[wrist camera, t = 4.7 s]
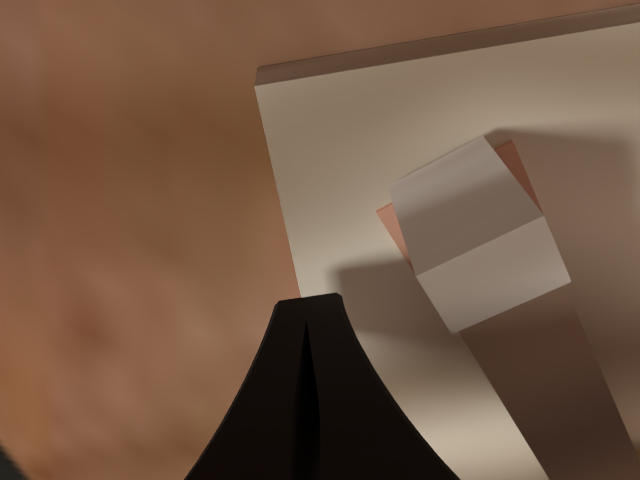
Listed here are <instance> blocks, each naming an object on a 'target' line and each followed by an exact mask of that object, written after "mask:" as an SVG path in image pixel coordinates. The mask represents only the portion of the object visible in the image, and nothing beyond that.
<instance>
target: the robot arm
mask: <svg viewBox="0 0 640 480" xmlns="http://www.w3.org/2000/svg"><path fill="white" fill-rule="evenodd" d="M184 480H461V479H460V478H459V477H458V476H457V475H456V474H455V473H454V472H453V471H452V470H451V469H450V468H449V467H448V465H447V464H446V463H445V462H444V461H443V460H442V459H441V458H440V457H439V456H438V454H437V453H436V452H435V451H434V450H433V448H432V447H431V446H430V445H429V444H428V442H427V441H426V440H425V439H424V438H423V436H422V435H421V434H420V433H419V431H418V430H417V429H416V428H415V426H414V425H413V424H412V422H411V421H410V420H409V419H408V417H407V416H406V415H405V413H404V412H403V411H402V409H401V408H400V406H399V405H398V404H397V402H396V401H395V399H394V398H393V396H392V395H391V393H390V392H389V390H388V389H387V387H386V386H385V384H384V383H383V381H382V380H381V378H380V377H379V375H378V374H377V372H376V370H375V369H374V367H373V365H372V364H371V362H370V360H369V358H368V356H367V355H366V353H365V351H364V349H363V348H362V346H361V344H360V342H359V340H358V338H357V336H356V334H355V332H354V330H353V327H352V325H351V323H350V321H349V318H348V315H347V313H346V310H345V306H344V303H343V297H342V296H341V295H340V294H338V293H337V292H336V293H329V294H322V295H315V296H309V297H302V298H295V299H288V300H282V301H278V303H277V304H276V305H275V306H274V309H273V313H272V316H271V319H270V322H269V324H268V327H267V330H266V332H265V335H264V337H263V340H262V342H261V345H260V347H259V349H258V352H257V354H256V356H255V358H254V360H253V362H252V365H251V367H250V369H249V371H248V373H247V375H246V378H245V380H244V382H243V384H242V386H241V387H240V389H239V391H238V393H237V395H236V397H235V399H234V400H233V402H232V404H231V406H230V408H229V410H228V412H227V413H226V415H225V417H224V419H223V421H222V422H221V424H220V426H219V427H218V429H217V431H216V432H215V434H214V436H213V437H212V439H211V440H210V442H209V444H208V445H207V447H206V448H205V450H204V451H203V453H202V454H201V456H200V457H199V459H198V460H197V462H196V463H195V465H194V466H193V468H192V469H191V470H190V472H189V473H188V475H187V476H186V477H185V479H184Z"/></svg>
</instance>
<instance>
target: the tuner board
mask: <svg viewBox="0 0 640 480" xmlns="http://www.w3.org/2000/svg"><path fill="white" fill-rule="evenodd" d="M254 87H255V91H256V96H257V100H258V105H259V109H260V114H261V118H262V123H263V127H264V132H265V136H266V141H267V145H268V150H269V154H270V159H271V163H272V168H273V172H274V177H275V181H276V186H277V190H278V195H279V199H280V204H281V208H282V213H283V217H284V222H285V226H286V231H287V235H288V240H289V244H290V249H291V253H292V258H293V262H294V267H295V271H296V276H297V280H298V285H299V289H300V294H301V298H302V297H309V296H315V295H322V294H329V293H336V292H337V293H338V294H340V295H341V296H342V297H343V303H344V306H345V310H346V313H347V315H348V318H349V321H350V323H351V325H352V327H353V330H354V332H355V334H356V336H357V338H358V340H359V342H360V344H361V346H362V348H363V349H364V351H365V353H366V355H367V356H368V358H369V360H370V362H371V364H372V365H373V367H374V369H375V370H376V372H377V374H378V375H379V377H380V378H381V380H382V381H383V383H384V384H385V386H386V387H387V389H388V390H389V392H390V393H391V395H392V396H393V398H394V399H395V401H396V402H397V404H398V405H399V406H400V408H401V409H402V411H403V412H404V413H405V415H406V416H407V417H408V419H409V420H410V421H411V422H412V424H413V425H414V426H415V428H416V429H417V430H418V431H419V433H420V434H421V435H422V436H423V438H424V439H425V440H426V441H427V442H428V444H429V445H430V446H431V447H432V448H433V450H434V451H435V452H436V453H437V454H438V456H439V457H440V458H441V459H442V460H443V461H444V462H445V463H446V464H447V465H448V467H449V468H450V469H451V470H452V471H453V472H454V473H455V474H456V475H457V476H458V477H459V478H460V479H461V480H549V478H548V476H547V475H546V473H545V471H544V470H543V468H542V467H541V465H540V463H539V462H538V460H537V458H536V457H535V455H534V454H533V452H532V450H531V449H530V447H529V445H528V444H527V442H526V441H525V439H524V437H523V436H522V434H521V432H520V431H519V429H518V428H517V426H516V424H515V423H514V421H513V419H512V418H511V416H510V415H509V413H508V411H507V410H506V408H505V406H504V405H503V403H502V402H501V400H500V398H499V397H498V395H497V393H496V392H495V390H494V389H493V387H492V385H491V384H490V382H489V380H488V379H487V377H486V376H485V374H484V372H483V371H482V369H481V367H480V366H479V364H478V363H477V361H476V359H475V358H474V356H473V354H472V353H471V351H470V350H469V348H468V346H467V345H466V343H465V341H464V340H463V338H462V337H461V335H460V333H459V332H456V333H454V334H451V332H450V330H449V329H448V327H447V326H446V324H445V322H444V321H443V319H442V318H441V316H440V314H439V313H438V311H437V310H436V308H435V307H434V305H433V303H432V302H431V300H430V299H429V297H428V295H427V294H426V292H425V291H424V289H423V287H422V286H421V284H420V283H419V281H418V279H417V278H416V276H415V274H414V272H413V271H412V269H411V267H410V266H409V264H408V263H407V261H406V259H405V258H404V256H403V255H402V253H401V251H400V250H399V248H398V247H397V245H396V244H395V242H394V240H393V239H392V237H391V236H390V234H389V232H388V231H387V229H386V228H385V226H384V224H383V223H382V221H381V220H380V218H379V216H378V215H377V213H376V210H377V209H379V208H381V207H383V206H385V205H387V204H389V203H391V202H392V200H391V197H390V194H389V191H388V188H387V186H388V185H390V184H392V183H394V182H396V181H398V180H400V179H402V178H404V177H405V176H407V175H409V174H411V173H413V172H415V171H417V170H419V169H421V168H422V167H424V166H426V165H428V164H430V163H432V162H434V161H436V160H438V159H440V158H441V157H443V156H445V155H447V154H449V153H451V152H453V151H455V150H457V149H458V148H460V147H462V146H464V145H466V144H468V143H470V142H472V141H474V140H475V139H477V138H479V137H481V136H484V138H485V139H486V140H487V142H488V143H489V144H490V146H491V147H492V148H493V149H495V148H497V147H499V146H500V145H502V144H504V143H506V142H508V141H510V140H512V141H513V142H514V144H515V147H516V149H517V152H518V154H519V156H520V159H521V161H522V164H523V166H524V168H525V171H526V173H527V176H528V178H529V180H530V183H531V185H532V188H533V190H534V192H535V195H536V197H537V200H538V202H539V204H540V207H541V209H542V212H543V214H544V216H545V219H546V221H547V224H548V226H549V229H550V231H551V233H552V236H553V238H554V241H555V243H556V245H557V248H558V250H559V253H560V255H561V257H562V260H563V262H564V265H565V267H566V269H567V272H568V274H569V277H570V279H571V281H572V282H570V283H568V284H566V285H565V287H566V290H567V292H568V294H569V297H570V299H571V301H572V304H573V306H574V308H575V311H576V313H577V315H578V318H579V320H580V322H581V325H582V327H583V329H584V332H585V334H586V336H587V339H588V341H589V343H590V346H591V348H592V350H593V353H594V355H595V357H596V360H597V362H598V364H599V367H600V369H601V371H602V374H603V376H604V378H605V381H606V383H607V385H608V388H609V390H610V392H611V395H612V397H613V399H614V402H615V404H616V406H617V409H618V411H619V413H620V416H621V418H622V420H623V423H624V425H625V427H626V430H627V432H628V434H629V437H630V439H631V441H632V444H633V446H634V448H635V450H640V3H639V4H633V5H627V6H621V7H615V8H609V9H603V10H598V11H592V12H586V13H580V14H574V15H568V16H562V17H556V18H550V19H544V20H538V21H532V22H526V23H520V24H514V25H508V26H502V27H496V28H490V29H484V30H478V31H472V32H466V33H460V34H454V35H448V36H442V37H436V38H430V39H424V40H418V41H412V42H406V43H400V44H394V45H388V46H382V47H377V48H371V49H365V50H359V51H353V52H347V53H341V54H335V55H329V56H323V57H317V58H311V59H305V60H299V61H293V62H287V63H281V64H275V65H269V66H263V67H258V69H257V75H256V80H255V86H254Z"/></svg>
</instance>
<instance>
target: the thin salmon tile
mask: <svg viewBox="0 0 640 480" xmlns="http://www.w3.org/2000/svg"><path fill="white" fill-rule="evenodd" d="M494 151H495V152H496V153H497V155H498V156H499V157H500V159H501V160H502V161H503V163H504V164H505V165H506V166H507V168H508V169H509V170H510V172H511V173H512V174H513V176H514V177H515V178H516V180H517V181H518V182H519V183H520V185H521V186H522V187H523V189H524V190H525V191H526V193H527V194H528V195H529V197H530V198H531V199H532V200H533V202H534V203H535V204H536V206H537V207H538V208H539V210H540V211H541V212H542V209H541V207H540V204H539V202H538V200H537V197H536V195H535V192H534V190H533V188H532V185H531V183H530V180H529V178H528V176H527V173H526V171H525V168H524V166H523V164H522V161H521V159H520V156H519V154H518V152H517V149H516V147H515V144H514V142H513V141H512V140H510V141H508V142H506V143H504V144H502V145H500V146H499V147H497V148H495V149H494ZM376 213H377V215H378V216H379V218H380V220H381V221H382V223H383V224H384V226H385V228H386V229H387V231H388V232H389V234H390V236H391V237H392V239H393V240H394V242H395V244H396V245H397V247H398V248H399V250H400V251H401V253H402V255H403V256H404V258H405V259H406V261H407V263H408V264H409V266H410V267H411V269H412V271H413V272H414V270H413V266H412V263H411V260H410V257H409V254H408V251H407V248H406V244H405V241H404V238H403V235H402V232H401V229H400V226H399V222H398V219H397V216H396V213H395V210H394V207H393V204H392V202H391V203H389V204H387V205H385V206H383V207H381V208H379V209H377V210H376ZM542 214H543V212H542ZM543 215H544V214H543ZM544 217H545V216H544ZM414 274H415V273H414Z"/></svg>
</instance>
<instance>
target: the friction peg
mask: <svg viewBox="0 0 640 480" xmlns="http://www.w3.org/2000/svg"><path fill="white" fill-rule="evenodd" d="M387 188H388V191H389V194H390V197H391V200H392V204H393V207H394V210H395V213H396V216H397V219H398V222H399V226H400V229H401V232H402V235H403V238H404V241H405V244H406V248H407V251H408V254H409V257H410V260H411V263H412V266H413V270H414V273H415V276H416V278H417V279H418V281H419V283H420V284H421V286H422V287H423V289H424V291H425V292H426V294H427V295H428V297H429V299H430V300H431V302H432V303H433V305H434V307H435V308H436V310H437V311H438V313H439V314H440V316H441V318H442V319H443V321H444V322H445V324H446V326H447V327H448V329H449V330H450V332H451V334H454V333H456V332H459V333H460V335H461V337H462V338H463V340H464V341H465V343H466V345H467V346H468V348H469V350H470V351H471V353H472V354H473V356H474V358H475V359H476V361H477V363H478V364H479V366H480V367H481V369H482V371H483V372H484V374H485V376H486V377H487V379H488V380H489V382H490V384H491V385H492V387H493V389H494V390H495V392H496V393H497V395H498V397H499V398H500V400H501V402H502V403H503V405H504V406H505V408H506V410H507V411H508V413H509V415H510V416H511V418H512V419H513V421H514V423H515V424H516V426H517V428H518V429H519V431H520V432H521V434H522V436H523V437H524V439H525V441H526V442H527V444H528V445H529V447H530V449H531V450H532V452H533V454H534V455H535V457H536V458H537V460H538V462H539V463H540V465H541V467H542V468H543V470H544V471H545V473H546V475H547V476H548V478H549V480H640V450H635V448H634V446H633V444H632V441H631V439H630V437H629V434H628V432H627V430H626V427H625V425H624V423H623V420H622V418H621V416H620V413H619V411H618V409H617V406H616V404H615V402H614V399H613V397H612V395H611V392H610V390H609V388H608V385H607V383H606V381H605V378H604V376H603V374H602V371H601V369H600V367H599V364H598V362H597V360H596V357H595V355H594V353H593V350H592V348H591V346H590V343H589V341H588V339H587V336H586V334H585V332H584V329H583V327H582V325H581V322H580V320H579V318H578V315H577V313H576V311H575V308H574V306H573V304H572V301H571V299H570V297H569V294H568V292H567V290H566V287H565V285H566V284H568V283H570V282H572V281H571V279H570V277H569V274H568V272H567V269H566V267H565V265H564V262H563V260H562V257H561V255H560V253H559V250H558V248H557V245H556V243H555V241H554V238H553V236H552V233H551V231H550V229H549V226H548V224H547V221H546V219H545V217H544V215H543V214H542V212H541V211H540V210H539V208H538V207H537V206H536V204H535V203H534V202H533V200H532V199H531V198H530V197H529V195H528V194H527V193H526V191H525V190H524V189H523V187H522V186H521V185H520V183H519V182H518V181H517V180H516V178H515V177H514V176H513V174H512V173H511V172H510V170H509V169H508V168H507V166H506V165H505V164H504V163H503V161H502V160H501V159H500V157H499V156H498V155H497V153H496V152H495V151H494V149H493V148H492V147H491V146H490V144H489V143H488V142H487V140H486V139H485V138H484V136H481V137H479V138H477V139H475V140H474V141H472V142H470V143H468V144H466V145H464V146H462V147H460V148H458V149H457V150H455V151H453V152H451V153H449V154H447V155H445V156H443V157H441V158H440V159H438V160H436V161H434V162H432V163H430V164H428V165H426V166H424V167H422V168H421V169H419V170H417V171H415V172H413V173H411V174H409V175H407V176H405V177H404V178H402V179H400V180H398V181H396V182H394V183H392V184H390V185H388V186H387Z"/></svg>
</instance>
